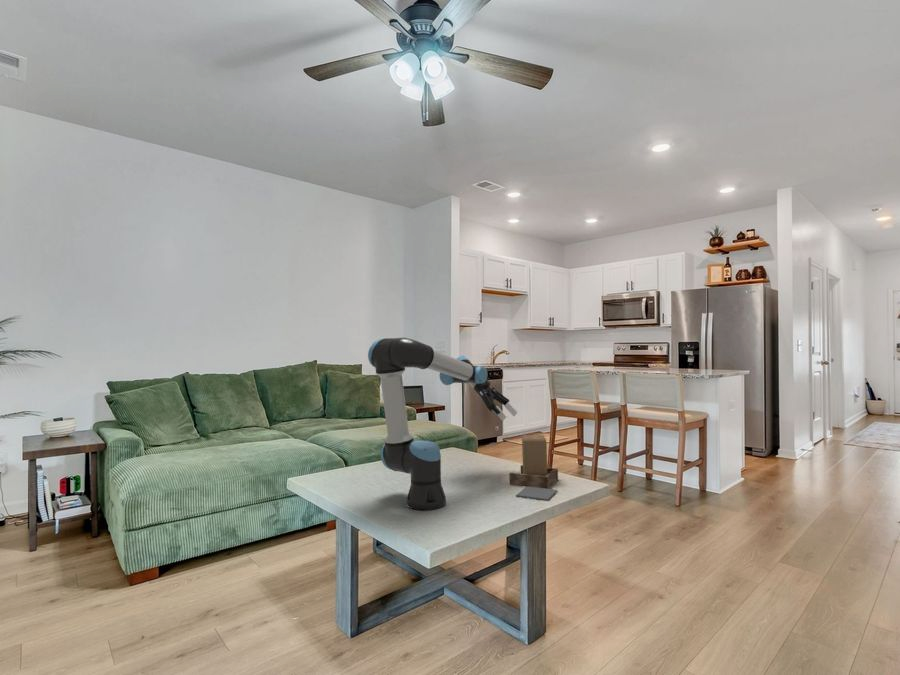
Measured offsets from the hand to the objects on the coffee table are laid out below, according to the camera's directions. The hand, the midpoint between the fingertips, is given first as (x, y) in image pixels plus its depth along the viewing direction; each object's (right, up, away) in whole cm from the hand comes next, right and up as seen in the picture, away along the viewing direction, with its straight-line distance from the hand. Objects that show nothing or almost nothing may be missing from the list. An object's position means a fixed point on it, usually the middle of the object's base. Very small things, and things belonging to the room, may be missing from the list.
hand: (510, 416), depth 214 cm
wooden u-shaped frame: (+10, -28, -6) cm, 30 cm away
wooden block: (+10, -28, -6) cm, 30 cm away
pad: (+8, -27, -23) cm, 36 cm away
